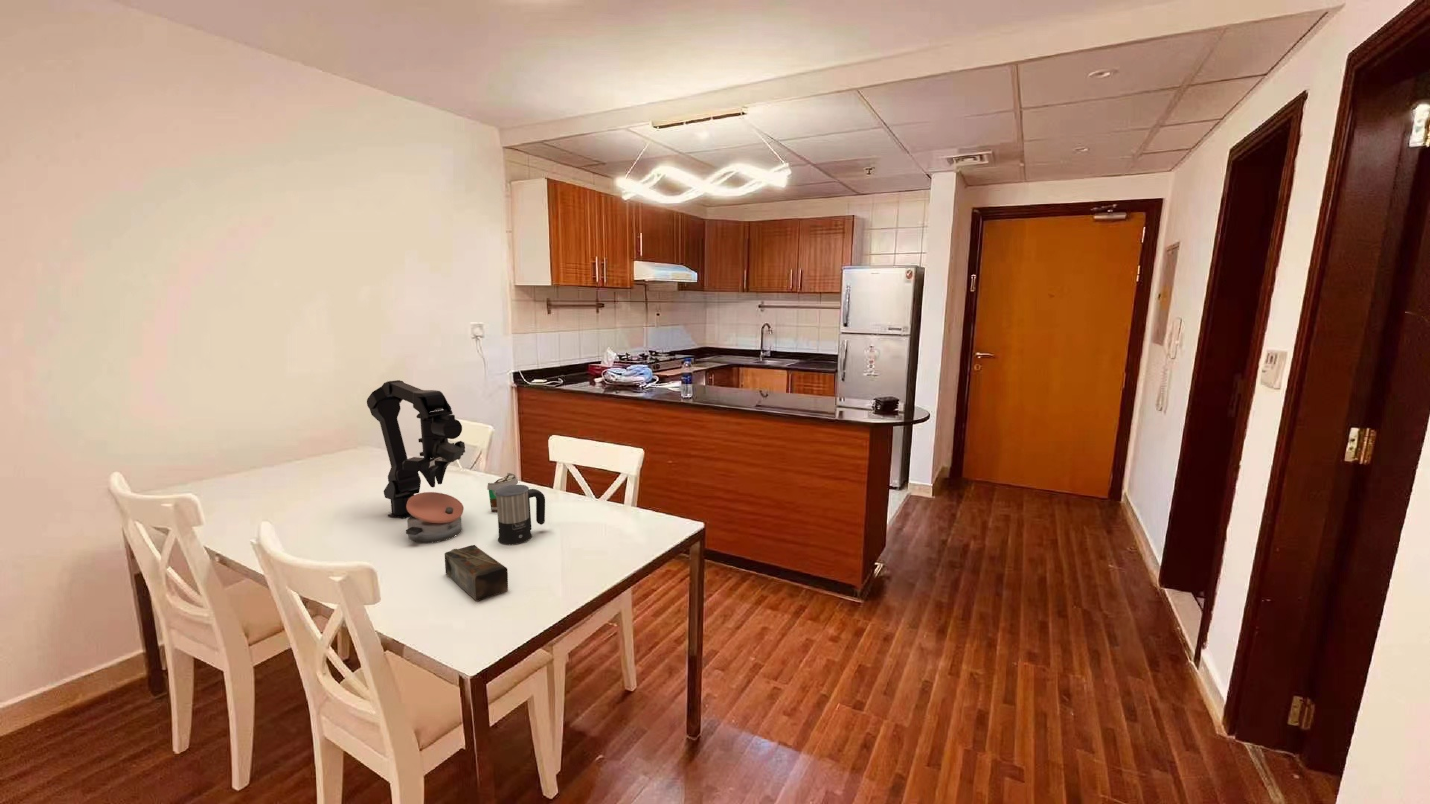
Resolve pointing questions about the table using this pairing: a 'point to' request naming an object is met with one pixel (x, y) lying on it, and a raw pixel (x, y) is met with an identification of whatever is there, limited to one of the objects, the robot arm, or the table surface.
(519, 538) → the milk frother
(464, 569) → the beverage carton
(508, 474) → the food container
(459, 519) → the pot
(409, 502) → the lid
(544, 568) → the table surface
